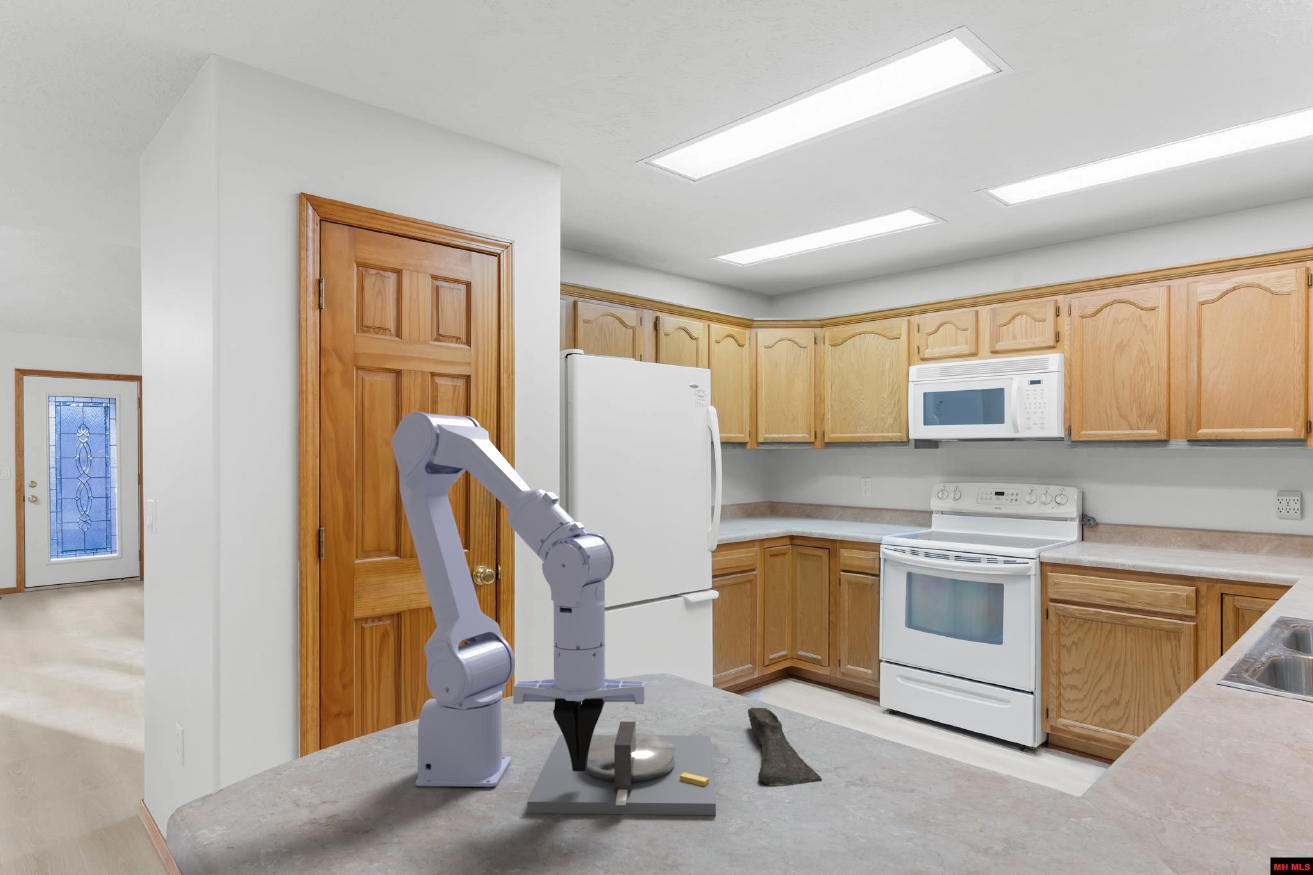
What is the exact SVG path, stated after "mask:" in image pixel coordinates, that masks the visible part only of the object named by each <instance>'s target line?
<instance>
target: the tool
mask: <svg viewBox="0 0 1313 875" xmlns="http://www.w3.org/2000/svg"><path fill="white" fill-rule="evenodd" d="M747 714H748V718H749V723H750V727H751V730H752V732H753V736H754V738H755V740H756V742H758V744H759V745H760V746H761V754H762V755H761V763H760V768H759V772H758V774H757V776H758V778H757V780H758V783H759V784H764V785H766V786H767V787H779V786H780V787H781V786H796V785H802V784H808V783H817V782H822V781H823V779H822V777H821V776H820V775H819V774H818V772H816V771H815V769H814V768H812V767H811V766H809V765H808V764H807V763H806V762H805V761H804V759H802V758H801V756H800V755H799V753H798V752H797V751H796V750H795V749H794V748H793V747H792V745H791V744H790V742H789V741H788V739H787V737H786V736H785V733H784V731H783V724H782V722H781V721H780V720H779V717H778V716H777V715H776V714H775V713H774V712H773V711H771V710H769V709H768V708H766V707H751V708H748V710H747Z"/></svg>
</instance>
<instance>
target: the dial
mask: <svg viewBox="0 0 1313 875" xmlns="http://www.w3.org/2000/svg"><path fill="white" fill-rule="evenodd" d="M636 724H637V722H636V721H625V720H624V721H622V720H621V721H620V722H619V725H618V730H617V733H616V734H609V735H610V736H605V737H601V738H598V739H596V740H593V741H591V743H590V748H589V753H588V762H587V767H586V770H585V771H586V772H587V773H588V774H590V775H592V776H594V777H596V778H600V779H603V780H608V781H615V792H618V790H627V792H631V789H632V784H633V782H635V781H644V780H649V779H653V778H656V777H659V776H662V775H664V774H666V773H668V772H669V771H670V770H671V769H672V768H673V767H674V764H675V749H674V746H673V745H672V744H671V743H670V742H669V741H667V740H665V739H663V738H660V737H657V736H652V735H651V734H645V733H637V730H636V729H637V728H636V726H637V725H636Z"/></svg>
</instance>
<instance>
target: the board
mask: <svg viewBox="0 0 1313 875" xmlns="http://www.w3.org/2000/svg"><path fill="white" fill-rule="evenodd" d="M610 735H611V734H593V736H592V739H591V741H593V740H596V739H598V738H601V737H605V736H610ZM652 736H657V737H660V738H663V739H665V740H667V741H669V742H670V743H671V744H672V745H673V746H674V749H675V764H674V767H673V768H672V769H671V770H670V771H669V772H668V773H666V774H664V775H662V776H659V777H656V778H653V779H649V780H644V781H635V782H633V784H632V789H631V792H627V790H618V792H615V781H608V780H603V779H600V778H596V777H594V776H592V775H590V774H588V773H587V772H586V771H573V770H572V763H571V758H570V754H569V750H568V747H567V744H566V741H565V738H564V736H563V734H559V736H558V738H557V739H556V742H555V744H554V747H553V748H552V750H551V753H550V755H549V757H548V759H547V760H546V763H545V764H544V767H543V769H542V771H541V773H540V775H539V778H538V779H537V781H536V783H535V785H534V787H533V789H532V791H531V794H530V796H529V798H528V801H527V814H561V815H562V814H565V815H568V814H569V815H570V814H571V815H572V814H573V815H574V814H575V815H577V814H578V815H580V814H581V815H586V814H587V815H657V816H658V815H660V816H662V815H665V816H666V815H667V816H669V815H671V816H672V815H673V816H676V815H677V816H678V815H679V816H680V815H681V816H717V805H716V804H717V802H716V801H717V800H716V791H715V777H714V767H713V766H714V765H713V754H712V753H713V752H712V743H711V741H712V740H711V735H679V734H678V735H674V734H673V735H665V734H663V735H660V734H658V735H656V734H655V735H652Z"/></svg>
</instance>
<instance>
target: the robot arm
mask: <svg viewBox="0 0 1313 875" xmlns="http://www.w3.org/2000/svg"><path fill="white" fill-rule="evenodd" d="M489 434H490V433H489V431H488V430H486V429H485V428H483V426H481V425H480V424H479V422H478V420H476V419H475V418H473V417H472V416H470V415H469V416H468V415H458V416H457V415H448V414H446V415H445V414H436V413H425V412H423V411H411V412H408V413H407V414H406V415H405V416H403V417H402V419H401V420H400V422H399V423H398V426H397V428H396V430H395V432H394V435H393V437H392V439H391V441H390V444H391V447H392V450H393V454H394V458H395V462H396V465H397V469H398V473H399V493H400V498H401V501H402V505H403V509H404V512H405V516H406V519H407V524H408V527H409V530H410V534H411V537H412V541H413V545H414V549H415V552H416V556H417V560H418V562H419V567H420V570H421V574H422V578H423V581H424V585H425V588H426V592H427V595H428V599H429V603H430V606H431V610H432V614H433V617H434V622H435V625H436V627H435V629H434V630H433V633H432V634H431V635H430V637H429V639H428V640H427V642H426V643H425V645H424V647H423V651H424V654H425V657H426V673H425V676H426V677H425V679H426V684H427V688H428V690H429V693H430V694H431V696H432V697H433V698H430V699H427V700H426V701H425V702H424V704H423V705H422V708H421V710H420V715H419V718H418V719H419V720H418V726H417V727H418V728H417V779H416V780H415V786H418V787H481V788H482V787H485V788H487V787H488V788H489V787H495V786H497V785H498V783H499V782H500V781H501V778H502V777H503V775H504V774H505V772H506V771H507V769H508V767H509V766H510V763H511V762H512V757H511V756H503V698H502V697H503V694H505V693H506V684H507V683H508V682H509V681H510V680H511V679H512V677H513V675H514V672H515V666H516V661H515V660H516V659H515V655H514V651H513V649H512V647H511V645H510V644H509V642H508V641H507V640H506V639H505V637H504V636H503V634H502V632H501V628H500V625H499V623H498V622H497V621H495V620H493V619H492V618H490V617H489V616H488V615H487V614H485V613H483V612H482V610H481V607H480V603H479V599H478V595H477V593H476V590H475V589H476V588H475V586H474V582H473V579H472V576H471V572H470V568H469V565H468V561H467V559H466V554H465V552H464V548H463V545H462V541H461V537H460V534H459V529H458V527H457V524H456V520H455V516H454V514H453V509H452V506H451V503H450V500H449V495H448V494H449V491H450V490H451V487H452V486H453V485H454V484H455V483H456V482H458V480H459V479H460V478H461V477H462V475H463V474H464V473H465V471H467V472H468V473H469V474H470V475H471V476H472V477H474V478H475V480H477V481H478V482H479V483H480V484H481V485H482V486H483V487H484V488H485V489H486V490H487V491H488V492H490V494H492V495H493V496H494V497H495V498H496V499H497V500H498V501H500V503H501V504H502V505H503V506H504V507H505V508H506V509H507V510H508V513H507V523H508V526H510V527H511V529H513V530H514V532H515V533H516V534H517V536H519V537H520V538H521V539H522V540H523V541H524V542H525V544H526V545H527V546H528V548H530V549H531V550H532V551H533V552H534V553H535V555H536V556H537V557H538V558H539V559H540V560H541V561H542V563H541V567H542V568H541V570H542V574H543V578H544V579H545V581H546V582H547V583H548V586H549V588H550V592H551V594H550V595H551V596H550V600H551V601H553V678H549V679H538V680H537V679H536V680H526V681H524V680H522V681H520V680H519V681H516V683H515V684H514V685H513V690H512V692H513V693H512V694H513V695H512V697H513V702H512V703H513V705H514V704H517V705H520V704H524V703H526V702H527V703H540V702H541V703H543V702H544V703H554V705H553V706H554V707H553V708H554V709H553V711H552V714H553V717H554V718H553V719H554V720H555V722H556V723H557V726H558V728H559V730H560V731H561V733H562V734H561V735H563V736H564V738H565V741H566V744H567V747H568V750H569V754H570V758H571V763H572V770H573V771H585V770H586V767H587V762H588V753H589V748H590V743H591V739H592V736H593V735H594V732H595V728H596V725H597V724H598V721H599V718H600V716H601V714H602V711H603V708H604V706H605V703H634V705H644V704H645V701H646V682H645V681H633V680H623V679H613V678H606V620H605V619H606V613H605V611H606V608H605V607H606V606H605V605H606V604H605V603H606V602H605V601H606V598H605V594H606V593H605V592H606V591H605V588H606V586H605V584H606V582H605V580H607V579H608V578H609V576H610V575H611V574H612V571H613V568H614V564H615V556H614V552H613V550H612V547H611V545H610V544H609V542H607V540H606V538H605V536H603V535H601V534H599V533H596V532H587V531H586V530H585V526H584V525H583V524H582V523H581V521H576V520H575V519H574V518H572V516H570V514H569V513H568V512H567V511H566V510H564V508H563V507H562V506H560V505H561V504H559V503H558V501H559V499H560V498H559V496H557V495H556V494H555V493H554V492H553V491H552V492H551V491H550V492H547V491H546V490H544V489H540V488H539V489H538V488H537V489H536V488H535V489H531V488H530V487H529V486H528V485H527V483H526V482H525V481H524V480H523V479H522V478H521V477H520V475H519V474H518V473H517V471H516V470H515V469H514V468H513V467H512V466H511V464H510V463H509V462H508V461H507V460H506V458H504V456H503V454H501V453H500V451H499V450H498V449H497V447H496V446H495V445H494V444H493V443H492V441H491V440H490V435H489ZM464 642H467V644H466V643H465V644H463V645H460V643H464Z"/></svg>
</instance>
